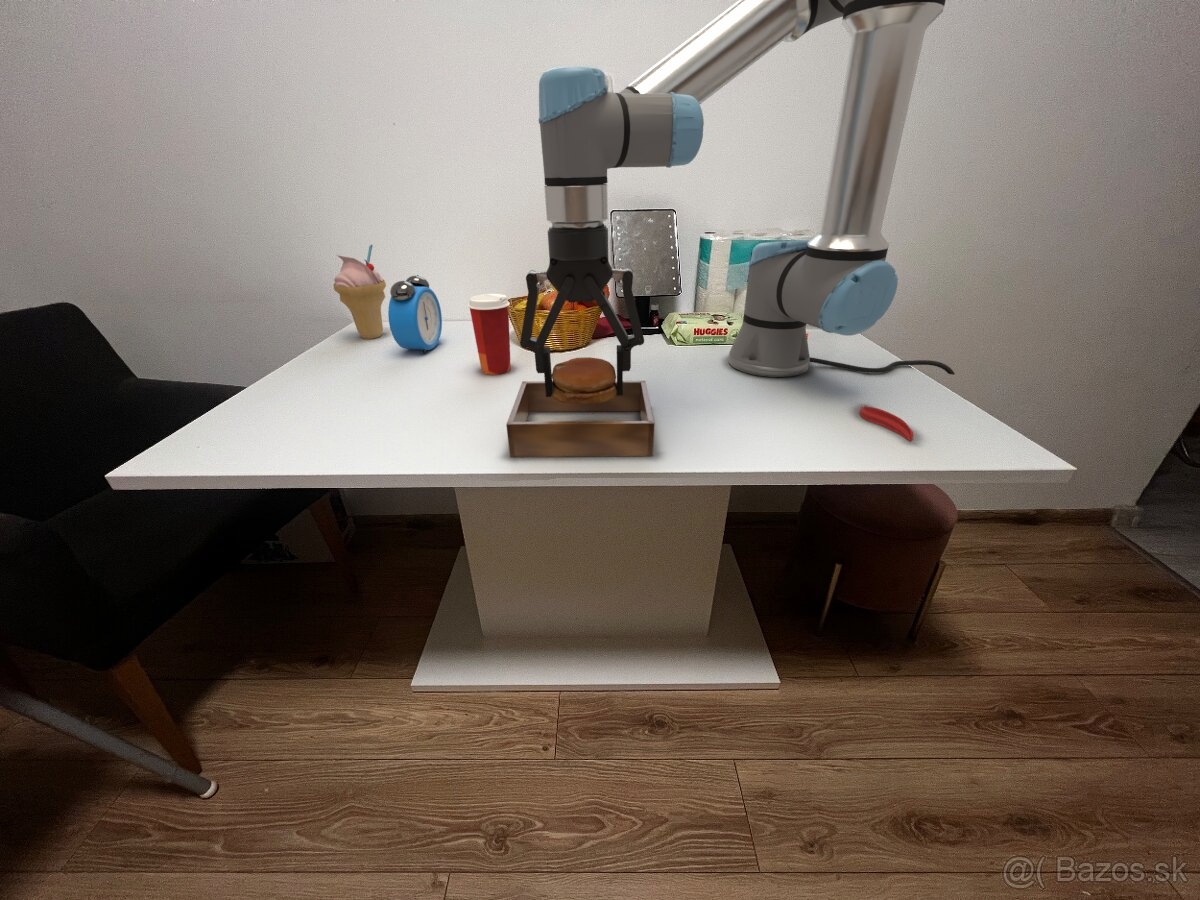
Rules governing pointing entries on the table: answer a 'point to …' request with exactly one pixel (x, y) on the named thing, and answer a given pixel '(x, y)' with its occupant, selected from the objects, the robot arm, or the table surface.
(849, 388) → the table surface
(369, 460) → the table surface
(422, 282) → the alarm clock
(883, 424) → the cayenne pepper
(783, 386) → the table surface
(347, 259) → the ice cream cone
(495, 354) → the paper cup
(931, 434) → the table surface
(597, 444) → the wooden box
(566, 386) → the burger
